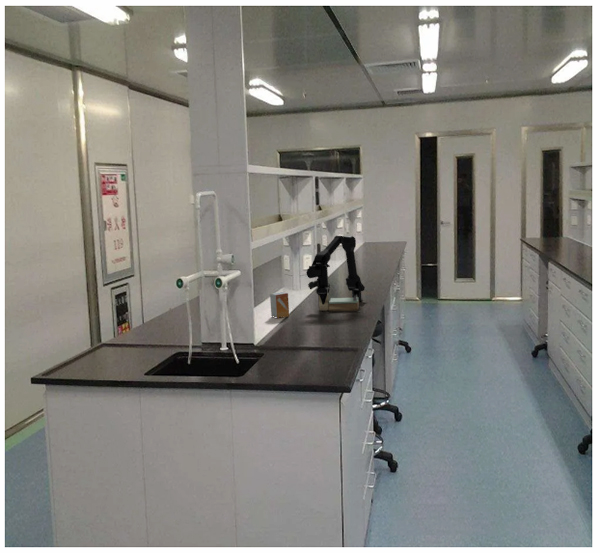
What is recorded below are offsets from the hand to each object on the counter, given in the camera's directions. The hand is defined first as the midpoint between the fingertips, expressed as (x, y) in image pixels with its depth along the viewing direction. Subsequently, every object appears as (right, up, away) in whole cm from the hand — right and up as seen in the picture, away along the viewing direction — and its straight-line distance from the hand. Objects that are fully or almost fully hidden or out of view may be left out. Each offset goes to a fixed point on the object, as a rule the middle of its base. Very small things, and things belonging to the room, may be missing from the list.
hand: (324, 302), depth 337 cm
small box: (-25, -7, -12) cm, 28 cm away
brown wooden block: (0, -4, +1) cm, 4 cm away
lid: (+11, +1, -2) cm, 11 cm away
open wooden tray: (+11, -3, -1) cm, 12 cm away
